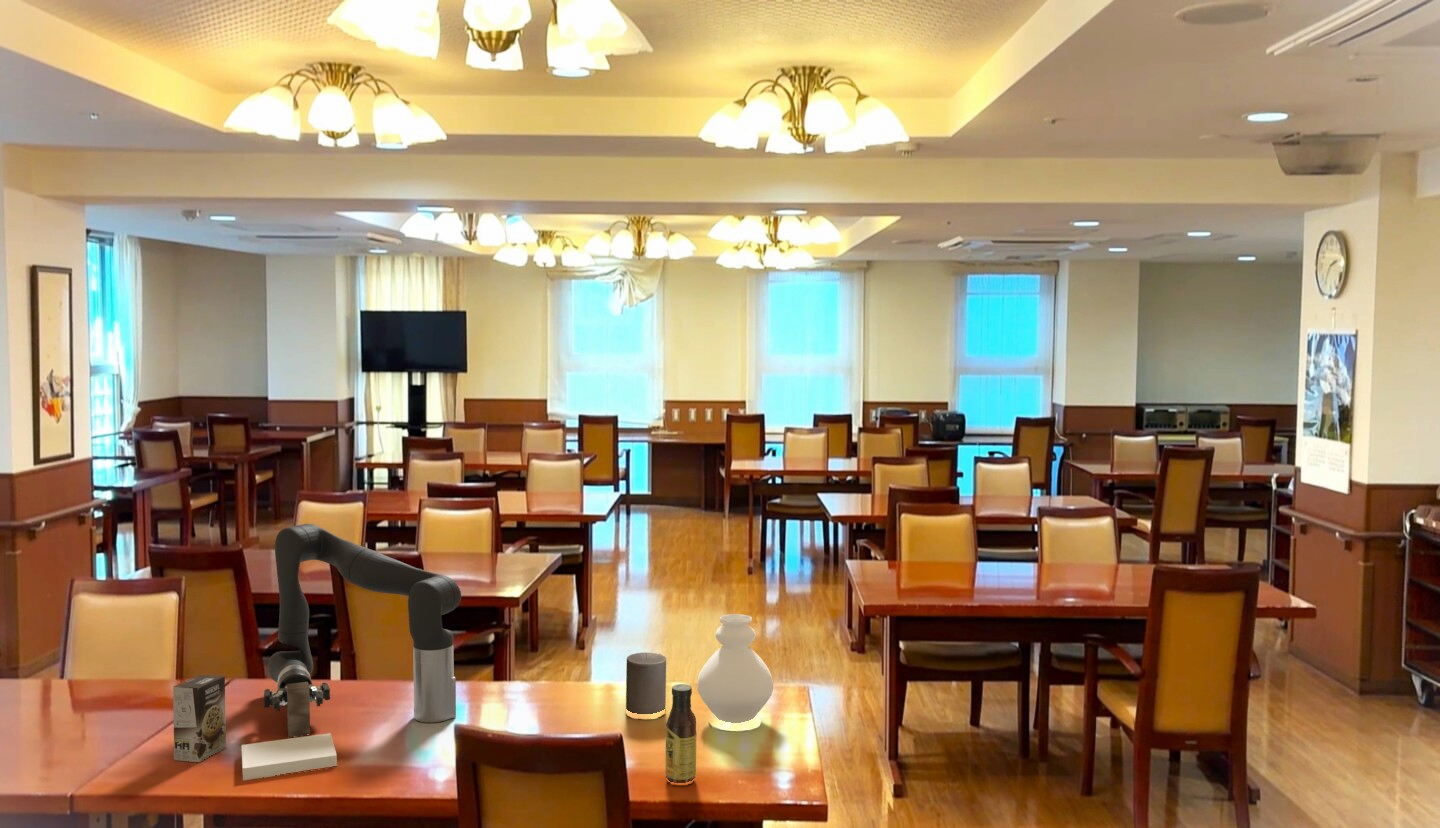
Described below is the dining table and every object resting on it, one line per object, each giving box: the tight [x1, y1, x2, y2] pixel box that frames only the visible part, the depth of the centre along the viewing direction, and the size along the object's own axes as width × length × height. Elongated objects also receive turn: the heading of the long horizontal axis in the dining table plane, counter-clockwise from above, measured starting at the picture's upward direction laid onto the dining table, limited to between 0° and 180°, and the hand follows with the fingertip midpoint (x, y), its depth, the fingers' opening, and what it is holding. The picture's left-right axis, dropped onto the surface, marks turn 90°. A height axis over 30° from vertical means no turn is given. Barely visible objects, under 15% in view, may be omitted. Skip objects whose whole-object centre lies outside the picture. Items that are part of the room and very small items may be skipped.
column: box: [286, 682, 311, 738], centre depth 246 cm, size 4×4×11 cm
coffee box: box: [172, 674, 227, 763], centre depth 233 cm, size 9×6×16 cm
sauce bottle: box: [665, 683, 698, 783], centre depth 220 cm, size 6×6×20 cm
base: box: [241, 732, 338, 781], centre depth 230 cm, size 18×14×2 cm
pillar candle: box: [625, 652, 667, 714], centre depth 261 cm, size 10×10×15 cm
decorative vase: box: [696, 613, 774, 723], centre depth 255 cm, size 18×18×25 cm
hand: (298, 704), depth 245 cm, fingers open, 8 cm apart
